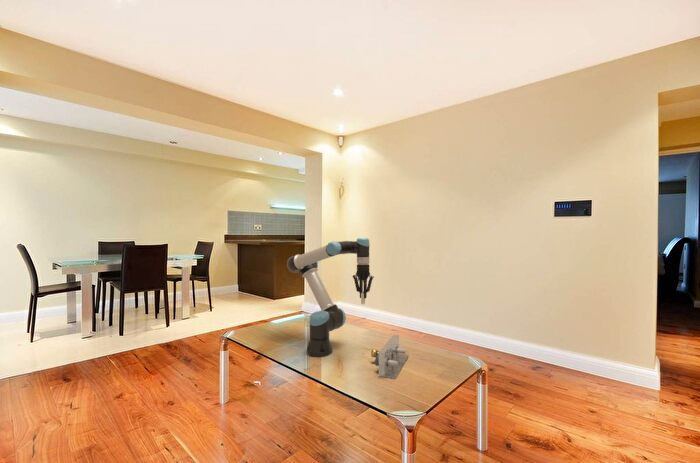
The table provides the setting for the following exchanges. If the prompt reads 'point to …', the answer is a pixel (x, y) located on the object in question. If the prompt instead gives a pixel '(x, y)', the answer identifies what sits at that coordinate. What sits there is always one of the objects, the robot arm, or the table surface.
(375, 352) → the silver and brass cylinder
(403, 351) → the knob far
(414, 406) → the table surface
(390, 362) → the knob near
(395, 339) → the panel
